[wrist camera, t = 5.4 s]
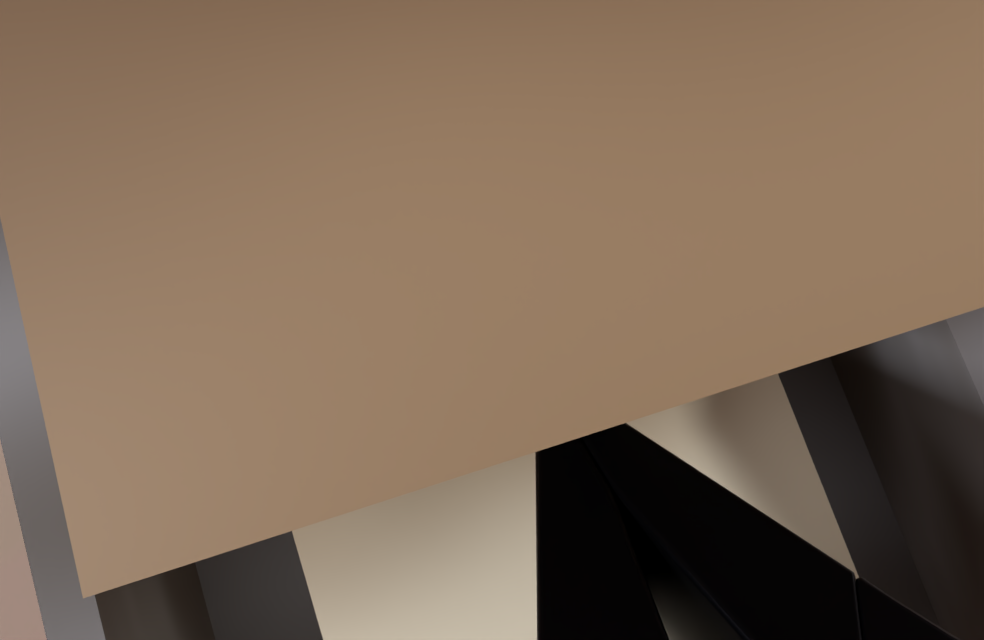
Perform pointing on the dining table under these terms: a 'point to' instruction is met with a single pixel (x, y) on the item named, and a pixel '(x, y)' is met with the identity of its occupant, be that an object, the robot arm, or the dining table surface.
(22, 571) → the dining table surface
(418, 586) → the trap box
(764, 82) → the walnut block
